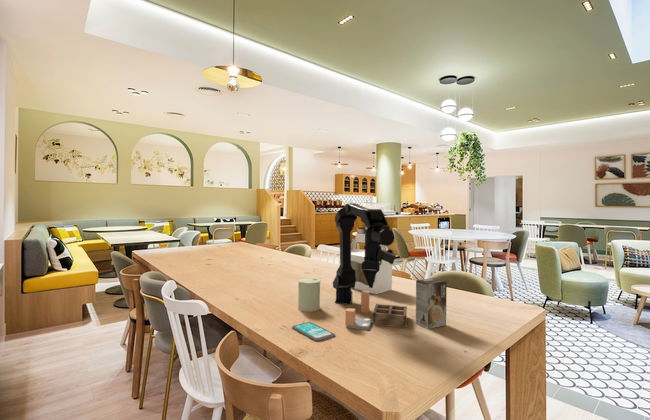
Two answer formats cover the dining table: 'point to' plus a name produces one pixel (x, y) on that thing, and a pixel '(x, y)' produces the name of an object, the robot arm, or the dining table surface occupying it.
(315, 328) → the smartphone
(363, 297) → the peg
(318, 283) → the can
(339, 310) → the dining table surface
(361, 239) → the gable box
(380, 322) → the socket block
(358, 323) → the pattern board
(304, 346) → the dining table surface
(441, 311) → the coffee box
